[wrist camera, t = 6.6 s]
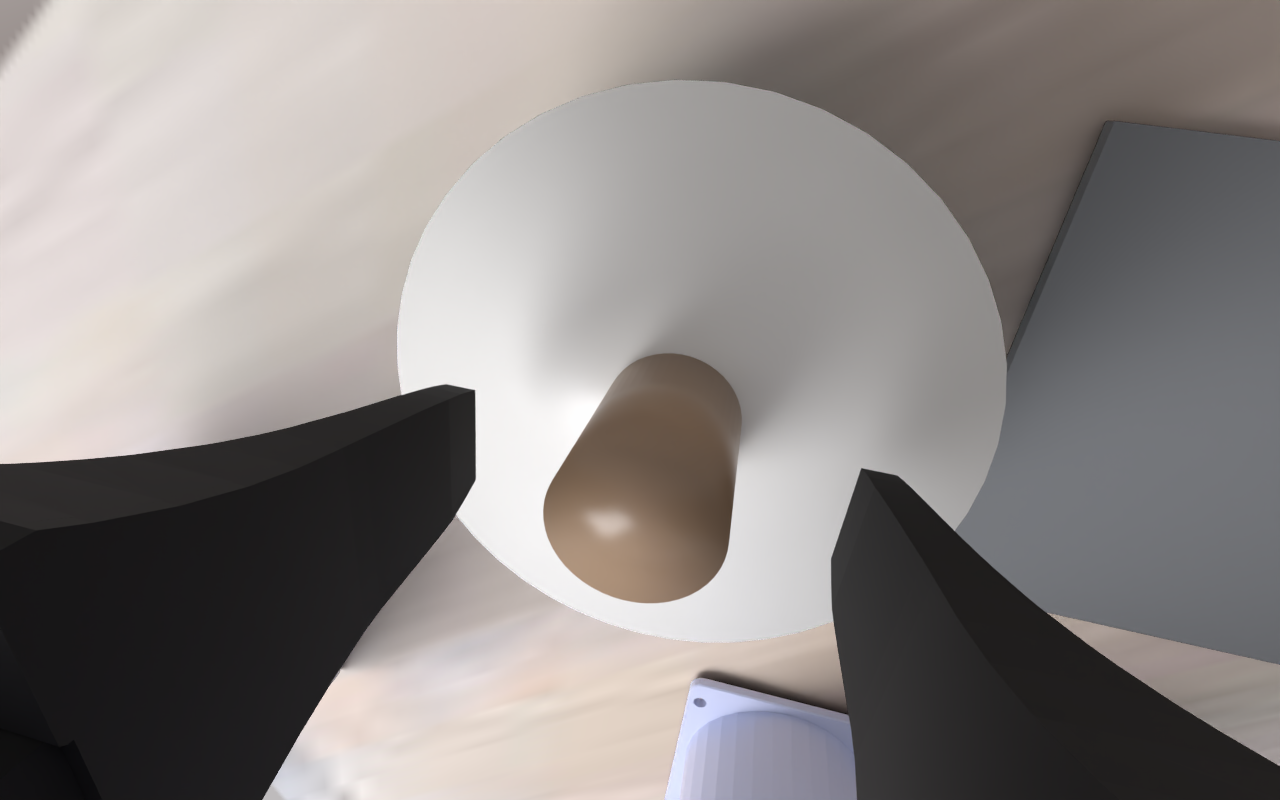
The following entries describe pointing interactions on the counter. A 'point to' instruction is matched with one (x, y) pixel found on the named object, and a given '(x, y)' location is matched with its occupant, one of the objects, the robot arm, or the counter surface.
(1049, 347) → the mat
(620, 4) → the counter surface
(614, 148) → the lid
